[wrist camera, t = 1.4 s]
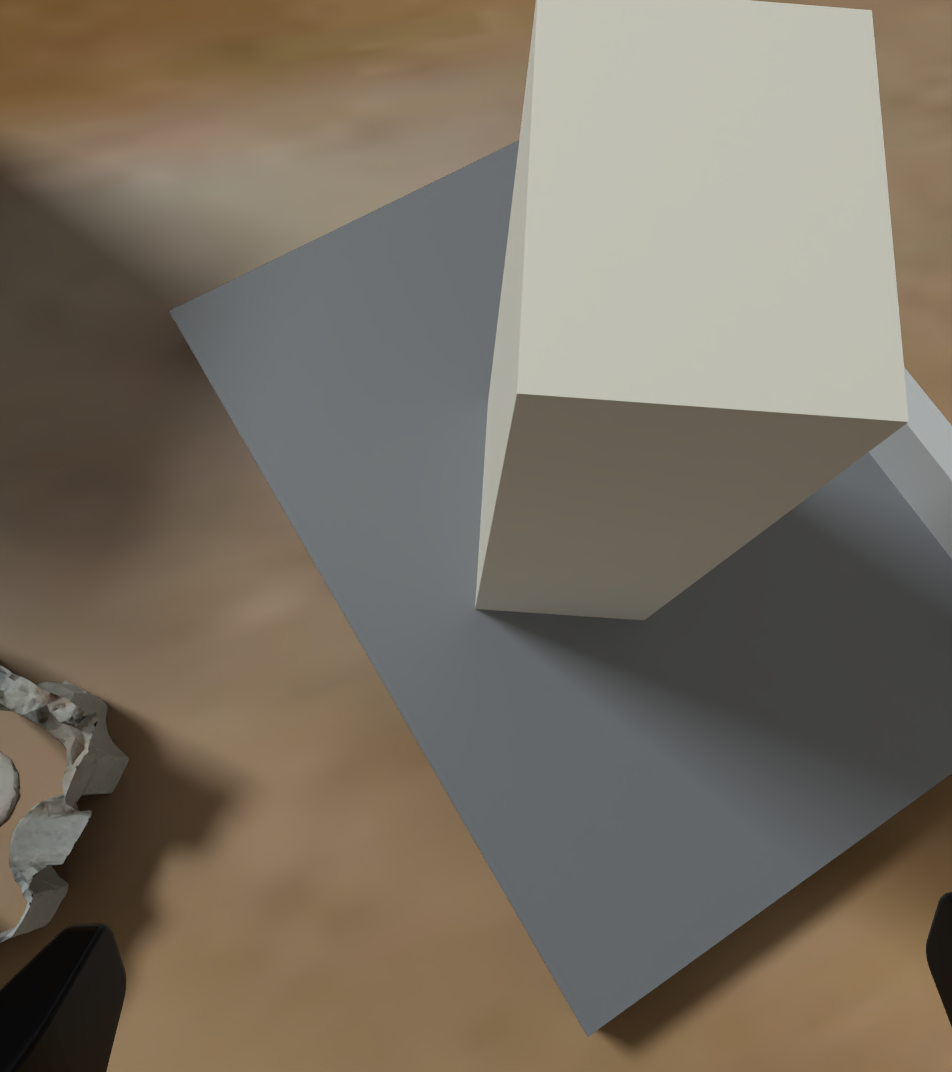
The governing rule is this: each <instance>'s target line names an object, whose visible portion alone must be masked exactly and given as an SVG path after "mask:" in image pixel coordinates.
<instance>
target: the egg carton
mask: <svg viewBox="0 0 952 1072" xmlns="http://www.w3.org/2000/svg"><path fill="white" fill-rule="evenodd" d="M0 710H4V711H13V712H16V713H17V714H19V715H21V716H23V717H25V718H27V719H28V720H30V721H32V722H34V723H36V724H38V725H40V726H41V727H43V728H44V729H46V730H47V731H48V732H50V733H51V734H52V735H53V736H55V737H56V738H57V739H59V741H60V742H61V743H62V744H63V746H64V747H65V748H66V753H67V765H66V770H65V773H64V776H63V779H62V782H61V784H62V789H63V793H64V795H59V796H56V797H53V798H50V799H46V800H43V801H41V802H40V803H38V804H37V805H35V806H34V807H32V808H31V810H30V811H29V812H28V813H27V814H26V815H25V816H24V817H23V818H22V819H21V820H20V821H19V822H18V824H17V826H16V827H15V829H14V831H13V833H12V837H11V843H10V858H9V866H10V869H11V872H12V874H13V876H14V879H15V881H16V882H17V883H18V884H19V886H20V887H21V888H22V894H23V896H24V897H25V899H26V901H27V905H26V909H25V912H24V914H23V916H22V917H21V919H20V921H19V923H18V924H17V926H16V927H14V928H12V929H10V930H7V931H5V932H2V933H0V943H1V942H3V941H5V940H7V939H9V938H12V937H15V936H18V935H21V934H25V933H28V932H31V931H33V930H35V929H38V928H41V927H45V926H46V925H47V924H48V923H49V922H50V921H51V919H52V918H53V916H54V914H55V913H56V911H57V909H58V907H59V905H60V903H61V901H62V900H63V898H64V897H65V896H66V894H67V891H68V885H69V884H68V883H67V882H66V881H64V880H63V879H62V878H61V877H59V875H58V874H57V873H56V871H55V870H54V869H53V868H52V865H61V864H63V863H64V861H65V859H66V857H67V856H68V855H69V854H70V852H71V850H72V848H73V846H74V844H75V843H76V841H77V840H78V838H79V837H80V835H81V833H82V831H83V829H84V828H85V826H86V824H87V822H88V821H89V819H90V817H91V813H92V812H91V811H90V810H87V811H79V809H78V807H77V804H76V803H77V801H78V800H79V798H80V797H81V796H82V795H91V794H109V793H112V792H113V790H114V789H115V788H116V786H117V784H118V782H119V780H120V778H121V776H122V773H123V772H124V770H125V768H126V766H127V763H128V761H129V759H128V757H127V756H126V755H125V754H124V753H123V752H122V751H121V750H120V749H119V748H118V747H117V746H116V745H115V744H114V743H113V741H112V740H111V738H110V736H109V734H108V730H107V725H106V714H107V705H106V704H105V703H104V702H103V701H102V700H101V699H100V698H99V697H96V696H94V695H92V694H91V693H90V692H88V691H86V690H83V689H81V688H79V687H78V686H76V685H74V684H72V683H69V682H67V681H64V682H63V683H55V682H52V681H51V682H42V683H39V684H37V685H35V684H34V683H32V682H31V681H29V680H27V679H25V678H23V677H21V676H18V675H16V674H13V673H11V672H10V671H9V670H8V669H6V668H4V667H3V666H1V665H0ZM18 787H19V774H18V771H17V770H16V768H15V766H14V764H13V762H12V760H11V759H10V758H9V757H7V756H6V755H5V754H3V753H2V752H1V751H0V824H2V823H3V822H4V821H5V820H6V819H7V818H8V817H9V815H10V813H11V812H12V810H13V809H14V807H15V805H16V802H17V799H18V795H19V789H18Z"/></svg>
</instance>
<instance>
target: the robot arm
mask: <svg viewBox="0 0 952 1072" xmlns="http://www.w3.org/2000/svg"><path fill="white" fill-rule="evenodd" d="M926 956H927V961H928V965H929V968H930V971H931V974H932V976H933V979H934V982H935V984H936V987H937V989H938V992H939V995H940V997H941V1000H942V1003H943V1005H944V1008H945V1010H946V1013H947V1016H948V1018H949V1021H950V1024H951V1026H952V892H951V893H946V894H944V895H943V896H942V897H941V898H940V900H939V902H938V906H937V909H936V912H935V916H934V919H933V922H932V925H931V929H930V932H929V935H928V939H927V943H926ZM125 991H126V974H125V969H124V966H123V963H122V960H121V957H120V953H119V950H118V947H117V944H116V941H115V938H114V934H113V932H112V930H111V928H110V927H109V926H108V925H107V924H104V923H92V924H74V925H71V926H68V927H67V928H65V929H64V930H62V931H61V932H60V933H59V934H58V935H57V936H56V937H55V938H54V939H53V940H52V941H51V942H50V943H49V944H48V945H46V946H45V947H44V948H43V949H42V950H41V951H40V952H39V953H38V954H37V955H36V956H35V957H34V958H33V959H32V960H31V961H30V962H29V963H28V964H27V965H26V966H25V967H24V968H23V969H22V970H20V971H19V972H18V973H17V974H16V975H15V976H14V977H13V978H12V979H11V980H10V981H9V982H8V983H7V984H6V985H5V986H4V987H3V988H2V989H1V990H0V1072H106V1071H107V1067H108V1063H109V1059H110V1054H111V1050H112V1046H113V1042H114V1038H115V1034H116V1030H117V1026H118V1022H119V1018H120V1014H121V1010H122V1006H123V1001H124V997H125Z"/></svg>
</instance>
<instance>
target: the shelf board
mask: <svg viewBox="0 0 952 1072" xmlns="http://www.w3.org/2000/svg"><path fill="white" fill-rule="evenodd" d="M518 148H519V140H518V141H516V142H514V143H512V144H510V145H508V146H506V147H504V148H502V149H500V150H498V151H496V152H494V153H492V154H490V155H488V156H486V157H484V158H482V159H480V160H477V161H475V162H473V163H471V164H469V165H467V166H465V167H463V168H461V169H459V170H457V171H455V172H453V173H451V174H449V175H447V176H445V177H443V178H441V179H438V180H436V181H434V182H432V183H430V184H428V185H426V186H424V187H422V188H420V189H418V190H416V191H414V192H412V193H410V194H408V195H406V196H404V197H402V198H399V199H397V200H395V201H393V202H391V203H389V204H387V205H385V206H383V207H381V208H379V209H377V210H375V211H373V212H371V213H369V214H367V215H365V216H363V217H361V218H358V219H356V220H354V221H352V222H350V223H348V224H346V225H344V226H342V227H340V228H338V229H336V230H334V231H332V232H330V233H328V234H326V235H324V236H322V237H319V238H317V239H315V240H313V241H311V242H309V243H307V244H305V245H303V246H301V247H299V248H297V249H295V250H293V251H291V252H289V253H287V254H285V255H283V256H280V257H278V258H276V259H274V260H272V261H270V262H268V263H266V264H264V265H262V266H260V267H258V268H256V269H254V270H252V271H250V272H248V273H246V274H244V275H242V276H239V277H237V278H235V279H233V280H231V281H229V282H227V283H225V284H223V285H221V286H219V287H217V288H215V289H213V290H211V291H209V292H207V293H205V294H203V295H200V296H198V297H196V298H194V299H192V300H190V301H188V302H186V303H184V304H182V305H180V306H178V307H176V308H174V309H172V310H170V311H169V312H170V314H171V316H172V317H173V319H174V321H175V323H176V324H177V326H178V328H179V329H180V331H181V333H182V335H183V336H184V338H185V340H186V342H187V343H188V345H189V347H190V349H191V350H192V352H193V354H194V355H195V357H196V359H197V361H198V362H199V364H200V366H201V368H202V369H203V371H204V373H205V375H206V376H207V378H208V380H209V381H210V383H211V385H212V387H213V388H214V390H215V392H216V394H217V395H218V397H219V399H220V401H221V402H222V404H223V406H224V407H225V409H226V411H227V413H228V414H229V416H230V418H231V420H232V421H233V423H234V425H235V427H236V428H237V430H238V432H239V433H240V435H241V437H242V439H243V440H244V442H245V444H246V446H247V447H248V449H249V451H250V453H251V454H252V456H253V458H254V459H255V461H256V463H257V465H258V466H259V468H260V470H261V472H262V473H263V475H264V477H265V479H266V480H267V482H268V484H269V485H270V487H271V489H272V491H273V492H274V494H275V496H276V498H277V499H278V501H279V503H280V505H281V506H282V508H283V510H284V511H285V513H286V515H287V517H288V518H289V520H290V522H291V524H292V525H293V527H294V529H295V531H296V532H297V534H298V536H299V537H300V539H301V541H302V543H303V544H304V546H305V548H306V550H307V551H308V553H309V555H310V557H311V558H312V560H313V562H314V563H315V565H316V567H317V569H318V570H319V572H320V574H321V576H322V577H323V579H324V581H325V583H326V584H327V586H328V588H329V589H330V591H331V593H332V595H333V596H334V598H335V600H336V602H337V603H338V605H339V607H340V609H341V610H342V612H343V614H344V615H345V617H346V619H347V621H348V622H349V624H350V626H351V628H352V629H353V631H354V633H355V635H356V636H357V638H358V640H359V641H360V643H361V645H362V647H363V648H364V650H365V652H366V654H367V655H368V657H369V659H370V661H371V662H372V664H373V666H374V667H375V669H376V671H377V673H378V674H379V676H380V678H381V680H382V681H383V683H384V685H385V687H386V688H387V690H388V692H389V693H390V695H391V697H392V699H393V700H394V702H395V704H396V706H397V707H398V709H399V711H400V713H401V714H402V716H403V718H404V719H405V721H406V723H407V725H408V726H409V728H410V730H411V732H412V733H413V735H414V737H415V739H416V740H417V742H418V744H419V745H420V747H421V749H422V751H423V752H424V754H425V756H426V758H427V759H428V761H429V763H430V765H431V766H432V768H433V770H434V771H435V773H436V775H437V777H438V778H439V780H440V782H441V784H442V785H443V787H444V789H445V791H446V792H447V794H448V796H449V797H450V799H451V801H452V803H453V804H454V806H455V808H456V810H457V811H458V813H459V815H460V817H461V818H462V820H463V822H464V823H465V825H466V827H467V829H468V830H469V832H470V834H471V836H472V837H473V839H474V841H475V843H476V844H477V846H478V848H479V849H480V851H481V853H482V855H483V856H484V858H485V860H486V862H487V863H488V865H489V867H490V869H491V870H492V872H493V874H494V875H495V877H496V879H497V881H498V882H499V884H500V886H501V888H502V889H503V891H504V893H505V895H506V896H507V898H508V900H509V901H510V903H511V905H512V907H513V908H514V910H515V912H516V914H517V915H518V917H519V919H520V921H521V922H522V924H523V926H524V927H525V929H526V931H527V933H528V934H529V936H530V938H531V940H532V941H533V943H534V945H535V947H536V948H537V950H538V952H539V953H540V955H541V957H542V959H543V960H544V962H545V964H546V966H547V967H548V969H549V971H550V973H551V974H552V976H553V978H554V979H555V981H556V983H557V985H558V986H559V988H560V990H561V992H562V993H563V995H564V997H565V999H566V1000H567V1002H568V1004H569V1005H570V1007H571V1009H572V1011H573V1012H574V1014H575V1016H576V1018H577V1019H578V1021H579V1023H580V1025H581V1026H582V1028H583V1030H584V1031H585V1033H586V1035H587V1037H588V1036H590V1035H591V1034H593V1033H594V1032H595V1031H597V1030H598V1029H599V1028H601V1027H602V1026H604V1025H605V1024H606V1023H608V1022H609V1021H611V1020H612V1019H613V1018H615V1017H616V1016H617V1015H619V1014H620V1013H622V1012H623V1011H624V1010H626V1009H627V1008H628V1007H630V1006H631V1005H633V1004H634V1003H635V1002H637V1001H638V1000H640V999H641V998H642V997H644V996H645V995H646V994H648V993H649V992H651V991H652V990H653V989H655V988H656V987H658V986H659V985H660V984H662V983H663V982H664V981H666V980H667V979H669V978H670V977H671V976H673V975H674V974H676V973H677V972H678V971H680V970H681V969H682V968H684V967H685V966H687V965H688V964H689V963H691V962H692V961H693V960H695V959H696V958H698V957H699V956H700V955H702V954H703V953H705V952H706V951H707V950H709V949H710V948H711V947H713V946H714V945H716V944H717V943H718V942H720V941H721V940H723V939H724V938H725V937H727V936H728V935H729V934H731V933H732V932H734V931H735V930H736V929H738V928H739V927H741V926H742V925H743V924H745V923H746V922H747V921H749V920H750V919H752V918H753V917H754V916H756V915H757V914H758V913H760V912H761V911H763V910H764V909H765V908H767V907H768V906H770V905H771V904H772V903H774V902H775V901H776V900H778V899H779V898H781V897H782V896H783V895H785V894H786V893H788V892H789V891H790V890H792V889H793V888H794V887H796V886H797V885H799V884H800V883H801V882H803V881H804V880H806V879H807V878H808V877H810V876H811V875H812V874H814V873H815V872H817V871H818V870H819V869H821V868H822V867H823V866H825V865H826V864H828V863H829V862H830V861H832V860H833V859H835V858H836V857H837V856H839V855H840V854H841V853H843V852H844V851H846V850H847V849H848V848H850V847H851V846H853V845H854V844H855V843H857V842H858V841H859V840H861V839H862V838H864V837H865V836H866V835H868V834H869V833H870V832H872V831H873V830H875V829H876V828H877V827H879V826H880V825H882V824H883V823H884V822H886V821H887V820H888V819H890V818H891V817H893V816H894V815H895V814H897V813H898V812H900V811H901V810H902V809H904V808H905V807H906V806H908V805H909V804H911V803H912V802H913V801H915V800H916V799H918V798H919V797H920V796H922V795H923V794H924V793H926V792H927V791H929V790H930V789H931V788H933V787H934V786H935V785H937V784H938V783H940V782H941V781H942V780H944V779H945V778H947V777H948V776H949V775H951V774H952V426H951V424H950V423H949V422H948V421H947V420H946V418H945V417H944V416H943V415H942V413H941V412H940V411H939V410H938V408H937V407H936V406H935V405H934V403H933V402H932V401H931V400H930V399H929V397H928V396H927V395H926V394H925V392H924V391H923V390H922V389H921V387H920V386H919V385H918V384H917V382H916V381H915V380H914V379H913V378H912V376H911V375H910V374H909V373H908V371H907V370H906V369H905V368H904V374H905V385H906V396H907V407H908V418H909V422H908V423H907V424H905V425H904V426H903V427H901V428H900V429H899V430H897V431H896V432H895V433H893V434H892V435H891V436H889V437H888V438H887V439H885V440H884V441H883V442H881V443H880V444H879V445H877V446H876V447H875V448H873V449H872V450H871V451H869V452H868V453H867V454H865V455H864V456H863V457H861V458H860V459H859V460H857V461H856V462H855V463H853V464H852V465H851V466H849V467H848V468H847V469H845V470H844V471H843V472H841V473H840V474H839V475H837V476H836V477H835V478H833V479H832V480H831V481H829V482H828V483H827V484H825V485H824V486H823V487H821V488H820V489H819V490H817V491H816V492H815V493H813V494H812V495H811V496H809V497H808V498H807V499H805V500H804V501H803V502H801V503H800V504H799V505H797V506H796V507H795V508H793V509H792V510H791V511H789V512H788V513H787V514H785V515H784V516H783V517H781V518H780V519H779V520H777V521H776V522H775V523H773V524H772V525H771V526H769V527H768V528H767V529H765V530H764V531H763V532H761V533H760V534H759V535H757V536H756V537H755V538H753V539H752V540H751V541H749V542H748V543H747V544H745V545H744V546H743V547H741V548H740V549H739V550H737V551H736V552H735V553H733V554H732V555H731V556H729V557H728V558H727V559H725V560H724V561H723V562H721V563H720V564H719V565H717V566H716V567H715V568H713V569H712V570H711V571H709V572H708V573H707V574H705V575H704V576H703V577H701V578H700V579H699V580H697V581H696V582H695V583H693V584H692V585H691V586H689V587H688V588H687V589H685V590H684V591H683V592H681V593H680V594H679V595H677V596H676V597H675V598H673V599H672V600H671V601H669V602H668V603H667V604H665V605H664V606H663V607H661V608H660V609H659V610H657V611H656V612H655V613H653V614H652V615H651V616H649V617H648V618H647V619H645V620H631V619H616V618H601V617H586V616H571V615H556V614H542V613H527V612H512V611H497V610H482V609H475V603H476V587H477V571H478V555H479V539H480V523H481V507H482V490H483V474H484V458H485V442H486V426H487V410H488V398H489V389H490V381H491V373H492V364H493V356H494V348H495V339H496V331H497V323H498V314H499V306H500V298H501V289H502V281H503V273H504V264H505V256H506V248H507V239H508V231H509V223H510V214H511V206H512V198H513V189H514V181H515V173H516V164H517V156H518Z"/></svg>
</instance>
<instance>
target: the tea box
mask: <svg viewBox="0 0 952 1072" xmlns="http://www.w3.org/2000/svg"><path fill="white" fill-rule="evenodd" d="M908 422H909V418H908V407H907V396H906V385H905V374H904V363H903V352H902V341H901V330H900V319H899V307H898V296H897V285H896V274H895V263H894V252H893V241H892V230H891V219H890V207H889V196H888V185H887V174H886V163H885V152H884V141H883V130H882V119H881V108H880V96H879V85H878V74H877V63H876V52H875V41H874V30H873V19H872V10H860V9H848V8H836V7H824V6H812V5H800V4H787V3H775V2H763V1H751V0H536V6H535V14H534V23H533V31H532V39H531V48H530V56H529V64H528V73H527V81H526V89H525V98H524V106H523V114H522V123H521V131H520V139H519V148H518V156H517V164H516V173H515V181H514V189H513V198H512V206H511V214H510V223H509V231H508V239H507V248H506V256H505V264H504V273H503V281H502V289H501V298H500V306H499V314H498V323H497V331H496V339H495V348H494V356H493V364H492V373H491V381H490V389H489V398H488V410H487V426H486V442H485V458H484V474H483V490H482V507H481V523H480V539H479V555H478V571H477V587H476V603H475V609H482V610H497V611H512V612H527V613H542V614H556V615H571V616H586V617H601V618H616V619H631V620H645V619H647V618H648V617H649V616H651V615H652V614H653V613H655V612H656V611H657V610H659V609H660V608H661V607H663V606H664V605H665V604H667V603H668V602H669V601H671V600H672V599H673V598H675V597H676V596H677V595H679V594H680V593H681V592H683V591H684V590H685V589H687V588H688V587H689V586H691V585H692V584H693V583H695V582H696V581H697V580H699V579H700V578H701V577H703V576H704V575H705V574H707V573H708V572H709V571H711V570H712V569H713V568H715V567H716V566H717V565H719V564H720V563H721V562H723V561H724V560H725V559H727V558H728V557H729V556H731V555H732V554H733V553H735V552H736V551H737V550H739V549H740V548H741V547H743V546H744V545H745V544H747V543H748V542H749V541H751V540H752V539H753V538H755V537H756V536H757V535H759V534H760V533H761V532H763V531H764V530H765V529H767V528H768V527H769V526H771V525H772V524H773V523H775V522H776V521H777V520H779V519H780V518H781V517H783V516H784V515H785V514H787V513H788V512H789V511H791V510H792V509H793V508H795V507H796V506H797V505H799V504H800V503H801V502H803V501H804V500H805V499H807V498H808V497H809V496H811V495H812V494H813V493H815V492H816V491H817V490H819V489H820V488H821V487H823V486H824V485H825V484H827V483H828V482H829V481H831V480H832V479H833V478H835V477H836V476H837V475H839V474H840V473H841V472H843V471H844V470H845V469H847V468H848V467H849V466H851V465H852V464H853V463H855V462H856V461H857V460H859V459H860V458H861V457H863V456H864V455H865V454H867V453H868V452H869V451H871V450H872V449H873V448H875V447H876V446H877V445H879V444H880V443H881V442H883V441H884V440H885V439H887V438H888V437H889V436H891V435H892V434H893V433H895V432H896V431H897V430H899V429H900V428H901V427H903V426H904V425H905V424H907V423H908Z"/></svg>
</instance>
